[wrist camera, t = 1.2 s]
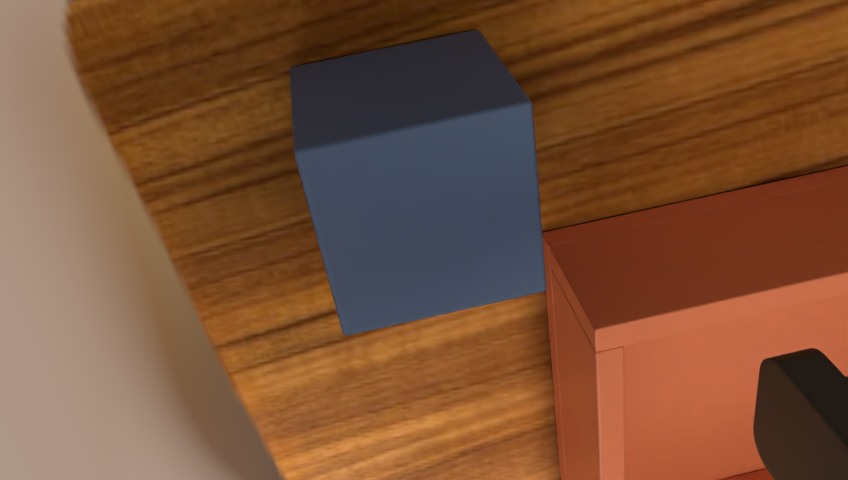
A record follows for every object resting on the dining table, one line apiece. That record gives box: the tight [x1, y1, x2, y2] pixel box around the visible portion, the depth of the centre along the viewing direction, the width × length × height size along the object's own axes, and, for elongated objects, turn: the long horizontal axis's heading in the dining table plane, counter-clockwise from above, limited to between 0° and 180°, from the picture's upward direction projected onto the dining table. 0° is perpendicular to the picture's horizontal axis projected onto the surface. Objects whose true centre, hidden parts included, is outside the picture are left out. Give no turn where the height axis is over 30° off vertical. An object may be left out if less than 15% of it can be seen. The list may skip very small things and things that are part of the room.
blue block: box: [290, 30, 546, 335], centre depth 19 cm, size 5×5×5 cm
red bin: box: [542, 166, 848, 480], centre depth 26 cm, size 14×14×5 cm
